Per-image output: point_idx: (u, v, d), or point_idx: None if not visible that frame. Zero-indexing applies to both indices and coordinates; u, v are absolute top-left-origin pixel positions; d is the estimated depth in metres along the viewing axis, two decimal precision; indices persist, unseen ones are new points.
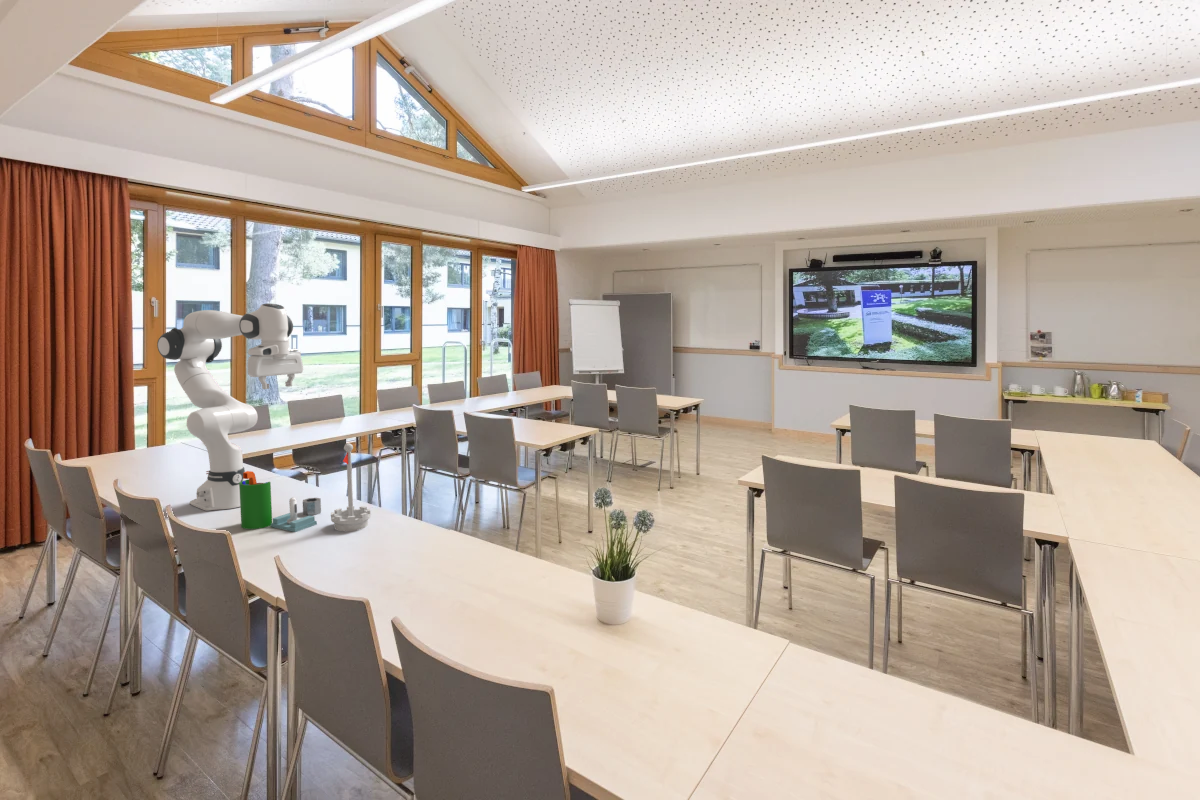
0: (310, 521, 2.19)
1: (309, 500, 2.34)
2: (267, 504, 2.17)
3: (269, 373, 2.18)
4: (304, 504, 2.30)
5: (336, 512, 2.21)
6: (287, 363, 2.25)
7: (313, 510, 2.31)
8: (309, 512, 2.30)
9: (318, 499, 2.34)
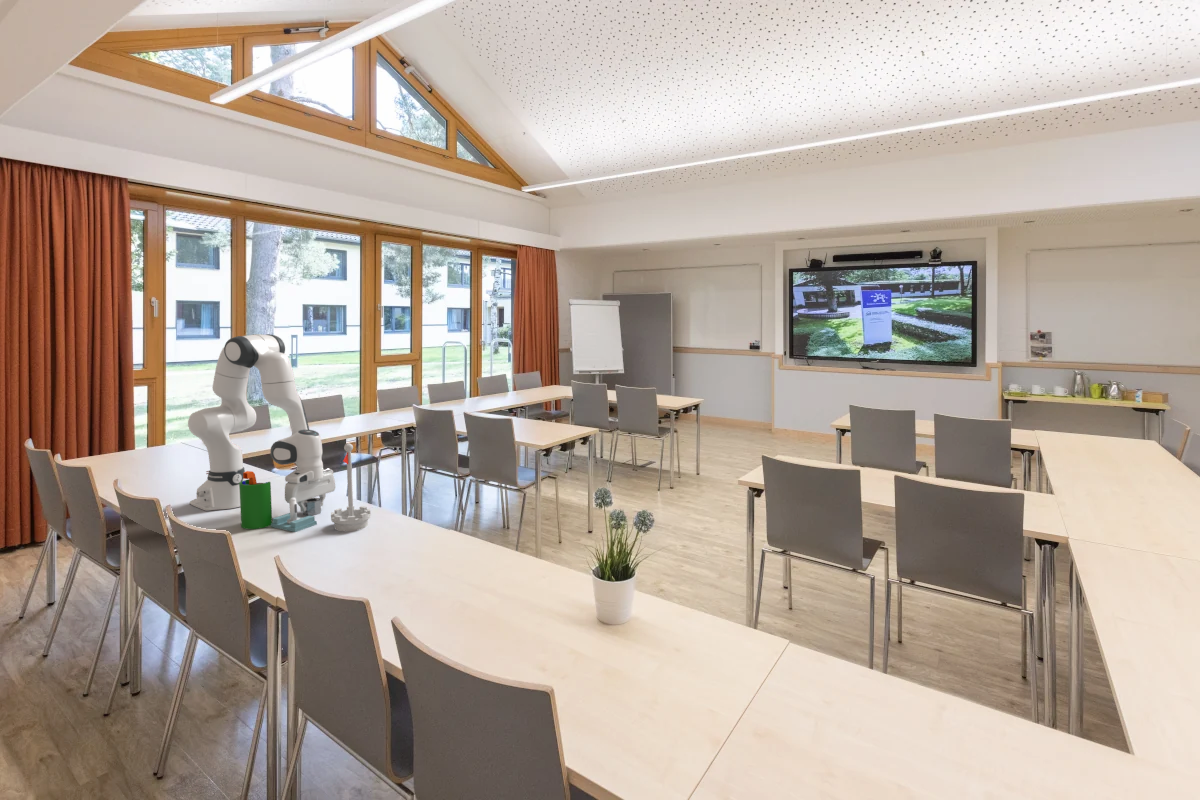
0: (310, 521, 2.19)
1: (309, 500, 2.34)
2: (267, 504, 2.17)
3: (305, 497, 2.28)
4: (304, 504, 2.30)
5: (336, 512, 2.21)
6: (321, 484, 2.35)
7: (313, 510, 2.31)
8: (309, 512, 2.30)
9: (318, 499, 2.34)
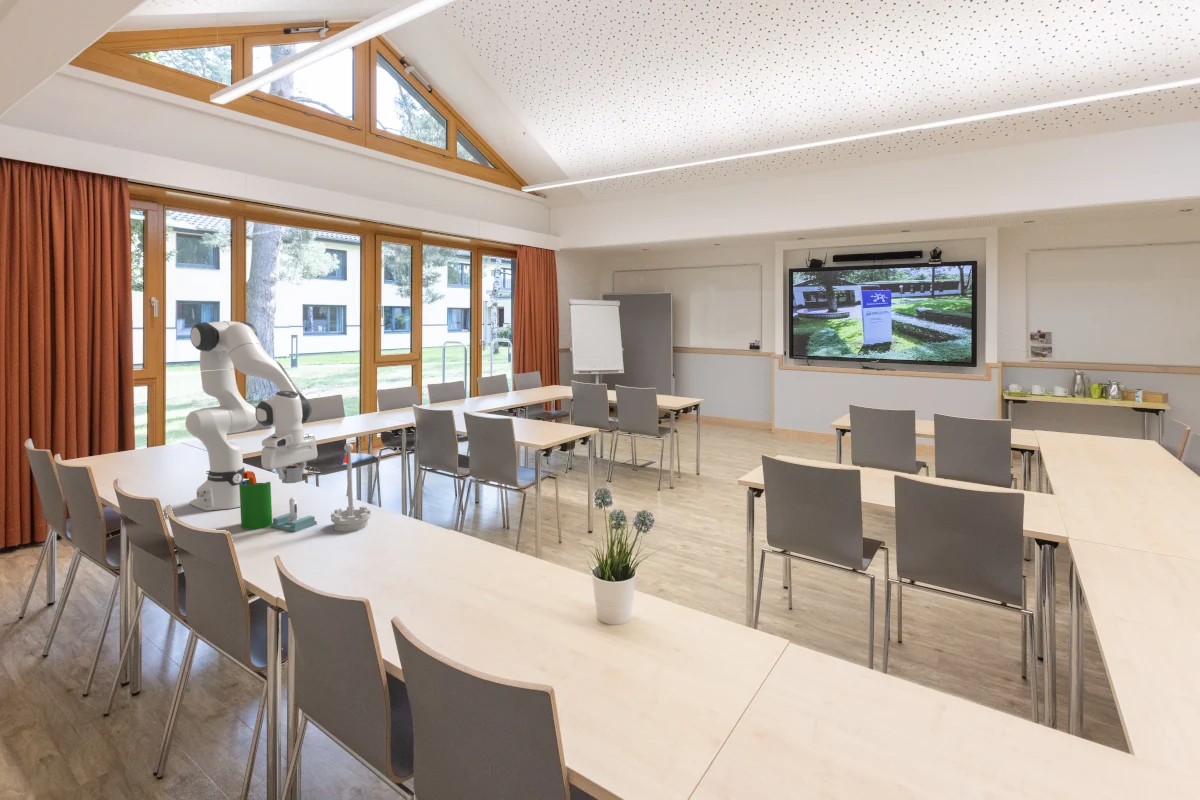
0: (310, 521, 2.19)
1: (289, 467, 2.18)
2: (267, 504, 2.17)
3: (283, 464, 2.12)
4: (283, 471, 2.14)
5: (336, 512, 2.21)
6: (301, 451, 2.18)
7: (293, 478, 2.14)
8: (288, 480, 2.14)
9: (298, 466, 2.17)
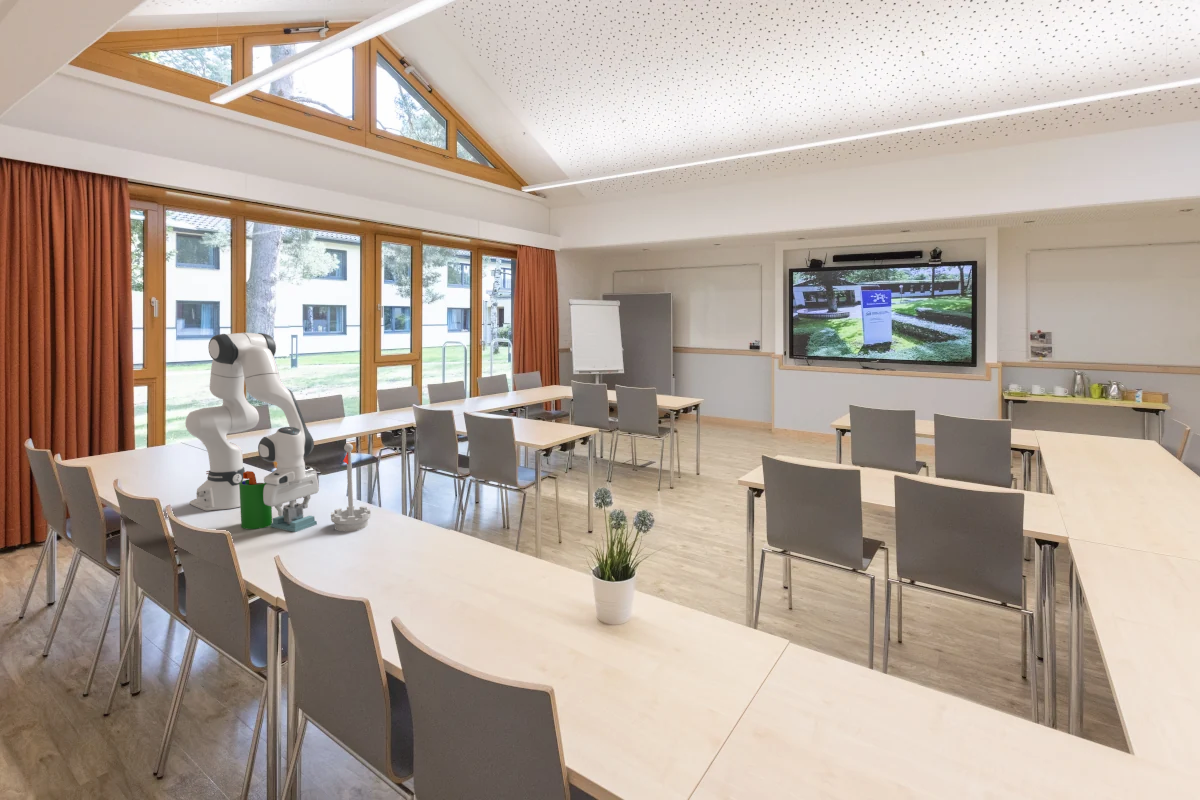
0: (310, 521, 2.19)
1: None
2: None
3: (285, 500, 2.13)
4: (285, 510, 2.16)
5: (336, 512, 2.21)
6: (303, 486, 2.20)
7: (294, 517, 2.16)
8: (290, 519, 2.16)
9: (300, 505, 2.19)
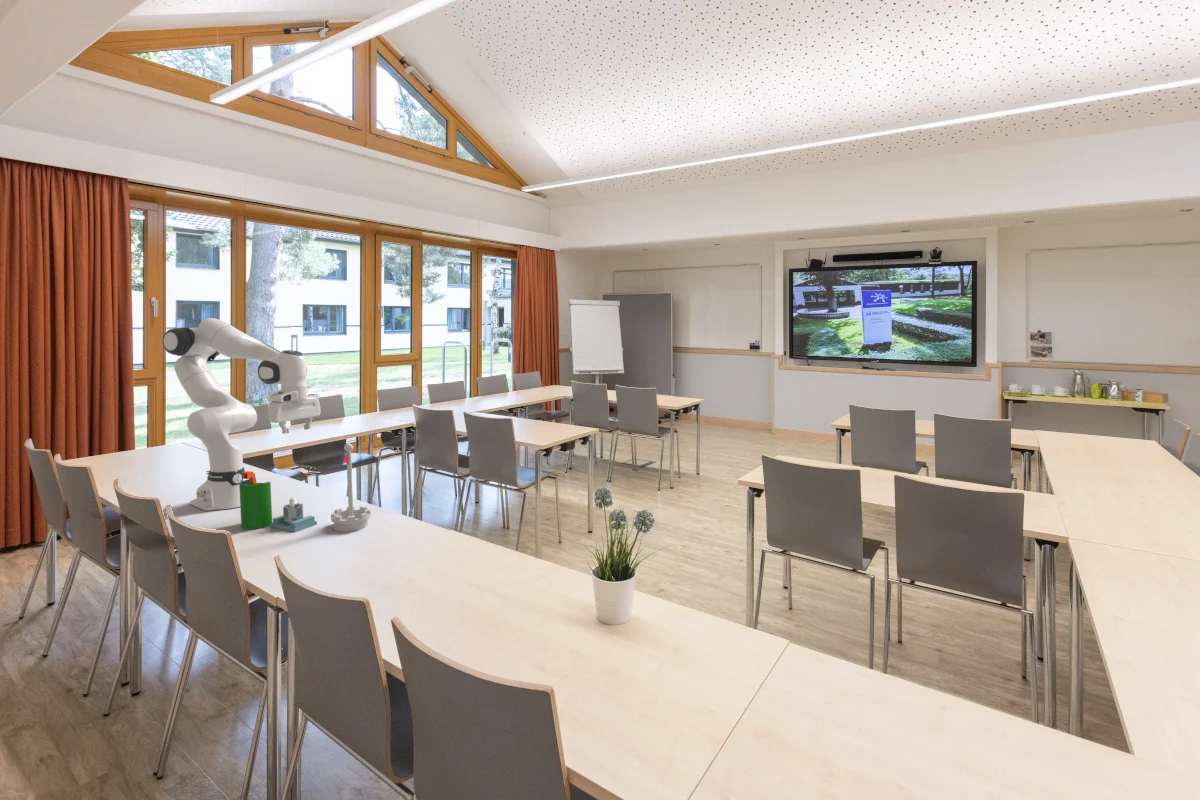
0: (310, 521, 2.19)
1: None
2: (267, 504, 2.17)
3: (289, 418, 2.25)
4: (285, 510, 2.16)
5: (336, 512, 2.21)
6: (306, 407, 2.32)
7: (294, 517, 2.16)
8: (290, 519, 2.16)
9: (300, 505, 2.19)
